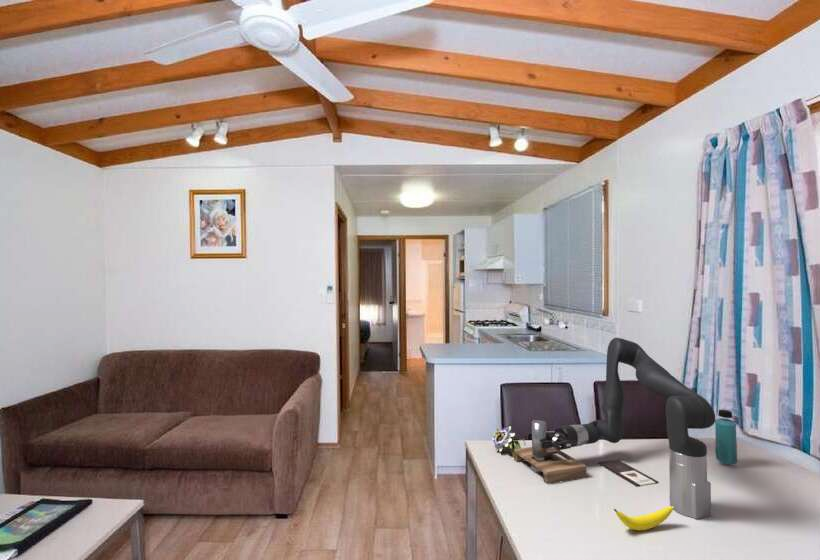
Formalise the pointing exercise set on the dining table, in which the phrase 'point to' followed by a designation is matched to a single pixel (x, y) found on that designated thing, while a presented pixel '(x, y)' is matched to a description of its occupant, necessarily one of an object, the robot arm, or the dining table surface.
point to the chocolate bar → (628, 473)
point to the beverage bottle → (726, 438)
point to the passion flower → (505, 440)
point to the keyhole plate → (553, 465)
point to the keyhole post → (538, 442)
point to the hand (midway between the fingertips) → (534, 441)
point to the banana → (645, 519)
